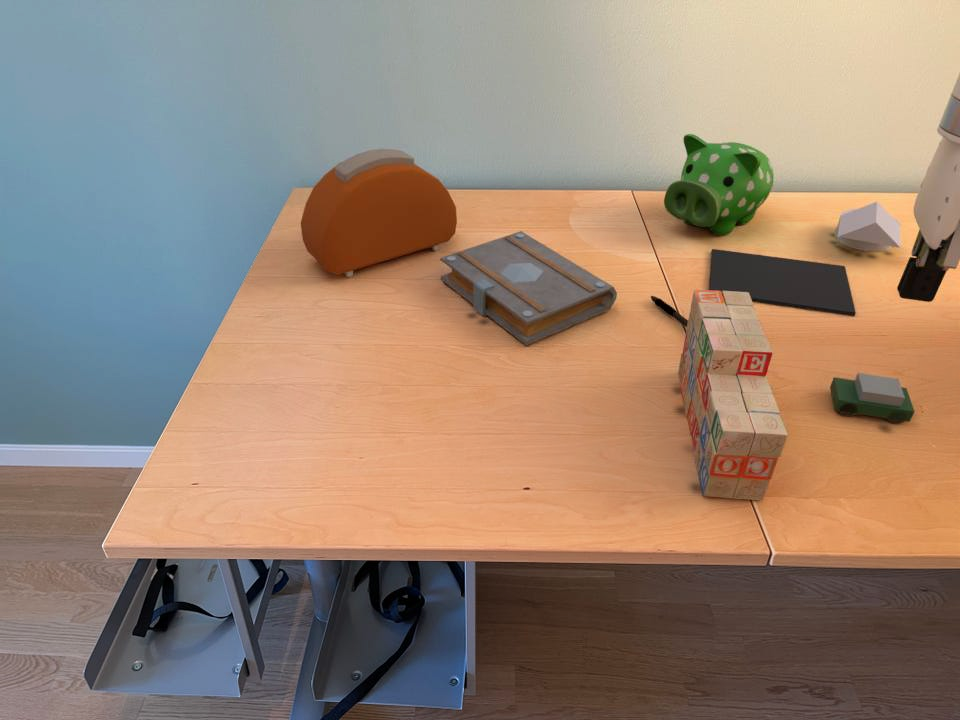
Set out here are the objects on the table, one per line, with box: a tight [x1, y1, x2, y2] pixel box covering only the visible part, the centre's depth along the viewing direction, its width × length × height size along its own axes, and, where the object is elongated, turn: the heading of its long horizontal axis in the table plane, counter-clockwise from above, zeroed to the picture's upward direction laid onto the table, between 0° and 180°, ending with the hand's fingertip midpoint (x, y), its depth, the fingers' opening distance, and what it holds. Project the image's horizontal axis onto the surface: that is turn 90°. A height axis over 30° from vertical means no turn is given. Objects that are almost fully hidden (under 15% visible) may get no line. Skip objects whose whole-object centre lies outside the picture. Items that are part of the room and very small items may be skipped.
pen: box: [650, 295, 688, 328], centre depth 96 cm, size 14×2×1 cm, turn 26°
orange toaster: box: [300, 148, 458, 278], centre depth 108 cm, size 23×9×17 cm, turn 123°
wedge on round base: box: [834, 201, 902, 253], centre depth 114 cm, size 9×7×13 cm
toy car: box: [829, 372, 915, 425], centre depth 81 cm, size 8×4×4 cm
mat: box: [708, 248, 857, 317], centre depth 106 cm, size 20×14×1 cm
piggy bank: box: [663, 133, 775, 237], centre depth 118 cm, size 14×18×15 cm
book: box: [439, 230, 618, 346], centre depth 101 cm, size 21×16×5 cm
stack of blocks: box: [677, 289, 788, 501], centre depth 76 cm, size 21×6×12 cm, turn 174°
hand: (914, 295), depth 73 cm, fingers closed
